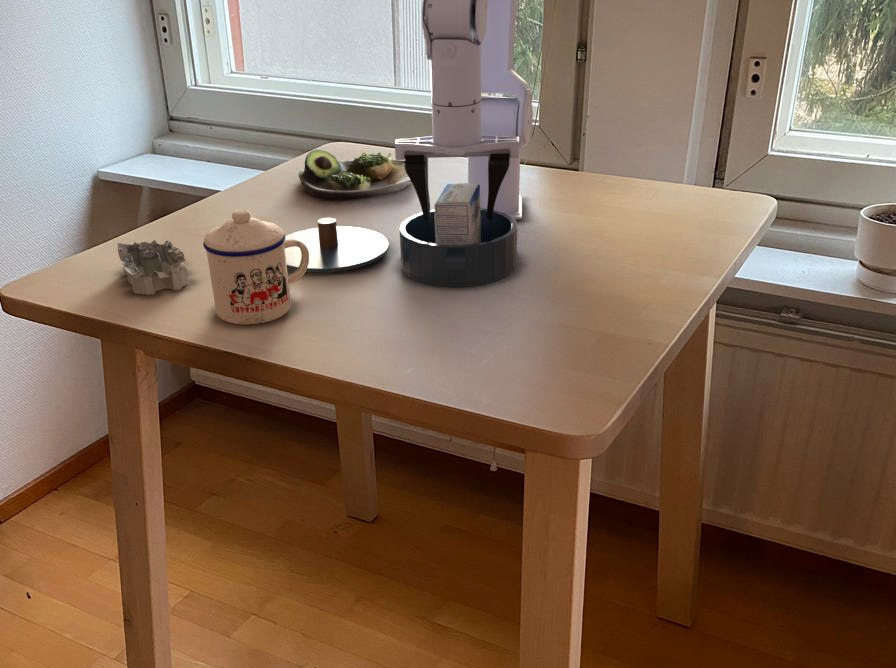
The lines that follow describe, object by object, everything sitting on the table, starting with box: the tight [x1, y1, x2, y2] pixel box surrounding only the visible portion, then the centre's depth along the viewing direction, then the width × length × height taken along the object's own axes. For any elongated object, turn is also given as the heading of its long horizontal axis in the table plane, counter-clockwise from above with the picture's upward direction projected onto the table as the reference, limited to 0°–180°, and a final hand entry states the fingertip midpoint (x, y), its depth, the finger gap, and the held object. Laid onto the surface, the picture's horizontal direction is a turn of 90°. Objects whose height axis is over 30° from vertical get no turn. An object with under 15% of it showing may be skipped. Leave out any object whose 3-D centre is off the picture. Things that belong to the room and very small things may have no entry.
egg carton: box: [116, 239, 189, 296], centre depth 125 cm, size 11×8×4 cm
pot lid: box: [285, 217, 390, 273], centre depth 130 cm, size 15×15×4 cm
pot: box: [399, 208, 518, 288], centre depth 125 cm, size 14×20×5 cm
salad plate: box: [298, 149, 412, 202], centre depth 155 cm, size 19×18×5 cm
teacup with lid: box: [202, 209, 309, 326], centre depth 114 cm, size 12×9×12 cm
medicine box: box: [433, 182, 481, 245], centre depth 123 cm, size 8×4×9 cm, turn 169°
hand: (458, 217), depth 123 cm, fingers open, 7 cm apart
